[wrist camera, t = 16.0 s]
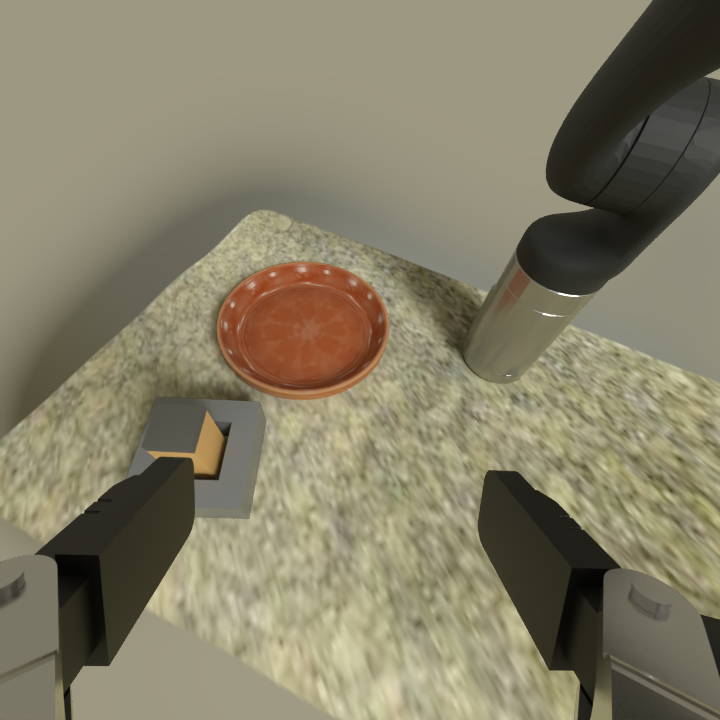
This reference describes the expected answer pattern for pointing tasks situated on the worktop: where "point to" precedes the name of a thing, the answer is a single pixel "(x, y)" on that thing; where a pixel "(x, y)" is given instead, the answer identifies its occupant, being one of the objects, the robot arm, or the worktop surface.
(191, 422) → the plug
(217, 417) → the socket block
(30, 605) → the robot arm
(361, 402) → the worktop surface
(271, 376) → the saucer
